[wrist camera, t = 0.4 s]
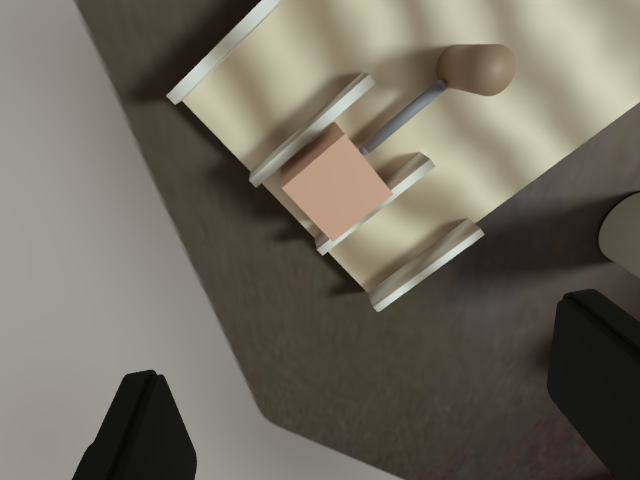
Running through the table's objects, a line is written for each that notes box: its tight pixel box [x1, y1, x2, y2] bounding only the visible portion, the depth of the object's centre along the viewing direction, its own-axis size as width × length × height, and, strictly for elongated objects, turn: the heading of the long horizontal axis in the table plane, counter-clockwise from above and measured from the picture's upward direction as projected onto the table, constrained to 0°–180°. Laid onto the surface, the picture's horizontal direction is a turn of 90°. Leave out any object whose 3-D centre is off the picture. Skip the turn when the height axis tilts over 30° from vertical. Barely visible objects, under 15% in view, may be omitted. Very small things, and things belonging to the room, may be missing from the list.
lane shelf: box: [166, 0, 640, 312], centre depth 32 cm, size 34×26×4 cm
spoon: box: [281, 44, 516, 242], centre depth 31 cm, size 18×6×6 cm, turn 130°
